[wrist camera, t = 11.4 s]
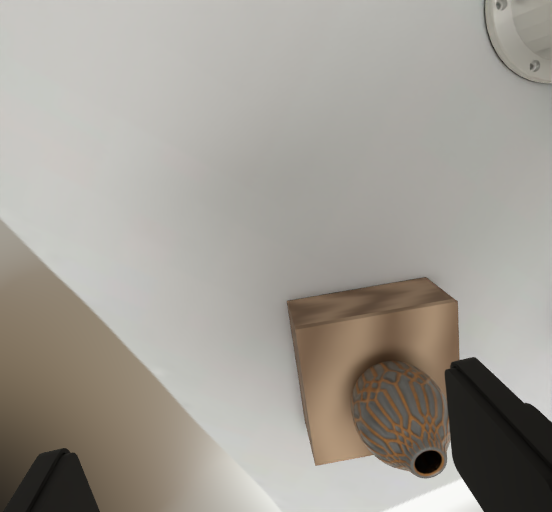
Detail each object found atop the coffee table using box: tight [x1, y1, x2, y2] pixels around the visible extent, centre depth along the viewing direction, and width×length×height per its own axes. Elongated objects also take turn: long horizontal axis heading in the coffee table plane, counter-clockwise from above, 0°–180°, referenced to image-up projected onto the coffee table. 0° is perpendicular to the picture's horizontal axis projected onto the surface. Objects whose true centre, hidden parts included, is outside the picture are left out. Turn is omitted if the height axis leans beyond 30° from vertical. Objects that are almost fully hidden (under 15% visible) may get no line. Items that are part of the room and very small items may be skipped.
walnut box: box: [287, 277, 459, 466], centre depth 38 cm, size 13×13×6 cm
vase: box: [351, 361, 451, 478], centre depth 31 cm, size 7×7×9 cm
